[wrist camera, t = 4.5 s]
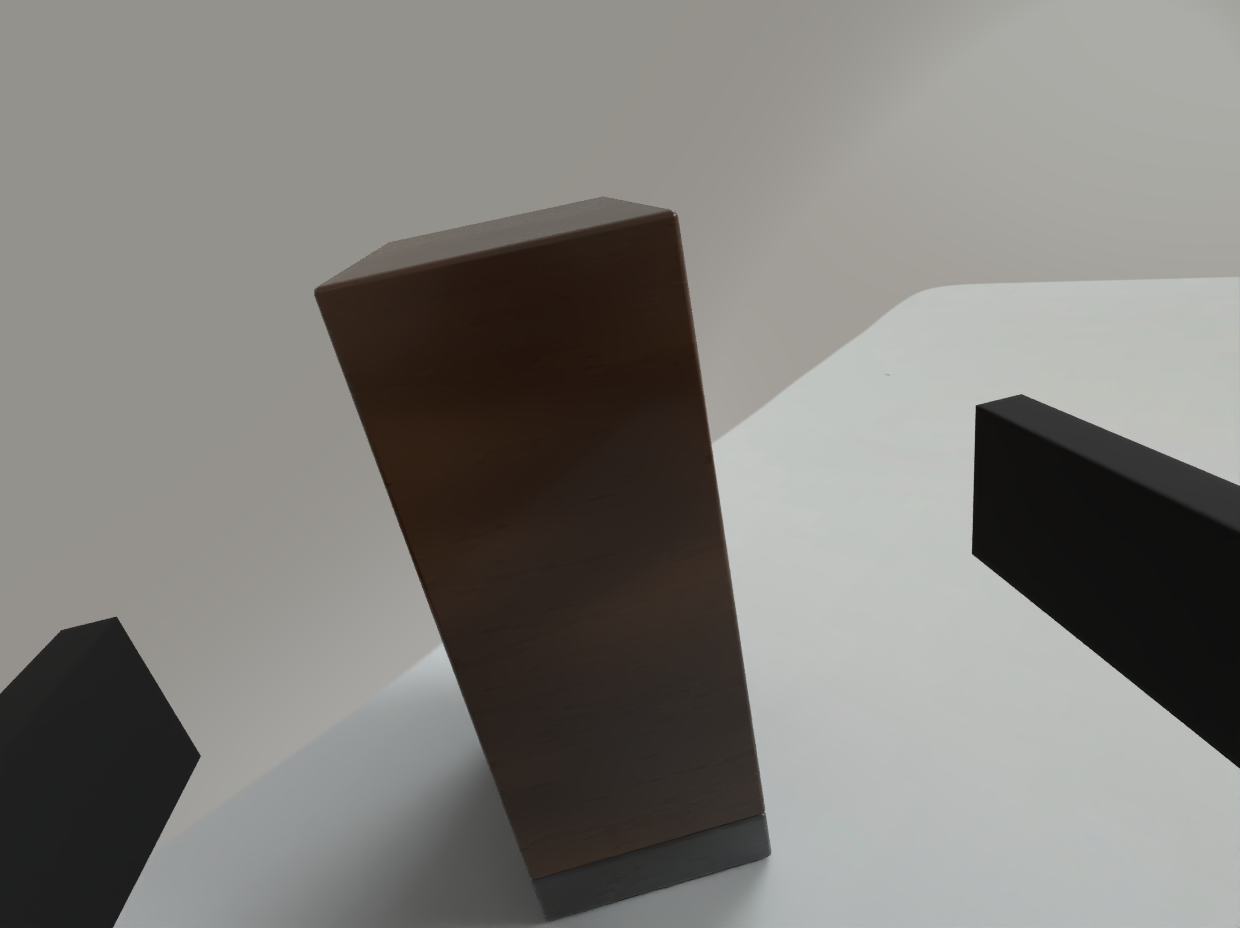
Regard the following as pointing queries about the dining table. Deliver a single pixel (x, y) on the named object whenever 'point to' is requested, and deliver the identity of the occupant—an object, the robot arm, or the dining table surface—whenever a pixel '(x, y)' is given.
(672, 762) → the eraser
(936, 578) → the dining table surface
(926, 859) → the dining table surface
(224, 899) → the dining table surface
